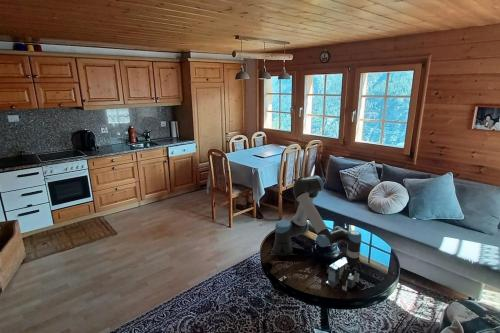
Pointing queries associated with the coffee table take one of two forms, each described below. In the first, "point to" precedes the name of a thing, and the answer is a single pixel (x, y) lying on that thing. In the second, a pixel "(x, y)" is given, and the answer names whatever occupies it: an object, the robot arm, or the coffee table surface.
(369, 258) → the coffee table surface
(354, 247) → the robot arm
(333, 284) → the housing
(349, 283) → the yellow handled grey mallet
